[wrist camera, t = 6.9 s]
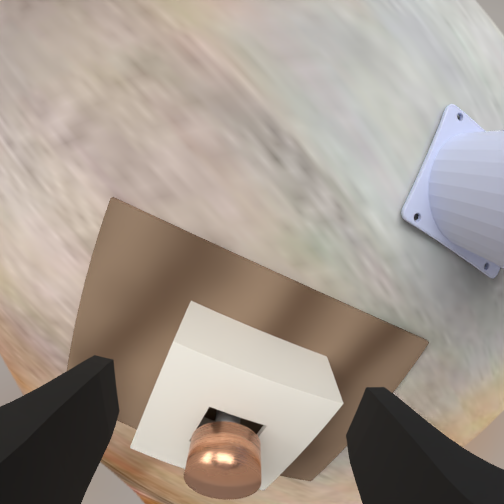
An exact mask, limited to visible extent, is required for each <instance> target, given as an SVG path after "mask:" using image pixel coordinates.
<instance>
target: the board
mask: <svg viewBox="0 0 504 504" xmlns="http://www.w3.org/2000/svg"><path fill="white" fill-rule="evenodd" d="M191 301H193V302H195V303H197V304H200V305H202V306H204V307H206V308H209V309H211V310H213V311H215V312H218V313H220V314H222V315H225V316H227V317H229V318H232V319H234V320H236V321H239V322H241V323H243V324H246V325H248V326H251V327H253V328H255V329H258V330H260V331H263V332H265V333H268V334H270V335H272V336H275V337H277V338H280V339H282V340H285V341H288V342H290V343H293V344H295V345H298V346H300V347H303V348H306V349H308V350H311V351H313V352H316V353H319V354H321V355H324V356H327V358H328V361H329V364H330V367H331V369H332V372H333V375H334V378H335V381H336V383H337V386H338V389H339V392H340V395H341V398H342V401H343V403H344V404H343V405H342V406H341V407H340V409H339V410H338V411H337V412H336V414H335V415H334V416H333V417H332V418H331V420H330V421H329V422H328V423H327V424H326V425H325V427H324V428H323V429H322V430H321V431H320V432H319V434H318V435H317V436H316V437H315V438H314V439H313V440H312V442H311V443H310V444H309V445H308V446H307V447H306V448H305V449H304V450H303V451H302V453H301V454H300V455H299V456H298V457H297V458H296V459H295V460H294V461H293V462H292V463H291V464H290V465H289V466H288V467H287V468H286V469H285V470H284V471H283V472H282V473H281V474H280V476H285V477H290V478H295V479H301V480H306V481H312V480H313V479H314V478H315V477H316V476H317V475H318V474H319V473H320V472H321V471H322V470H323V469H324V468H325V467H326V466H327V465H328V464H329V463H330V462H331V461H332V460H333V459H334V458H335V457H336V456H337V455H338V454H339V453H340V452H341V451H342V450H343V449H344V448H345V447H346V446H347V439H346V434H347V431H348V429H349V427H350V425H351V422H352V420H353V418H354V415H355V413H356V411H357V408H358V406H359V404H360V401H361V399H362V396H363V394H364V391H365V389H366V387H385V388H386V389H388V390H389V391H390V392H392V393H393V392H394V390H395V389H396V388H397V387H398V385H399V384H400V383H401V381H402V380H403V379H404V377H405V376H406V375H407V373H408V372H409V371H410V369H411V368H412V367H413V365H414V364H415V362H416V361H417V360H418V358H419V357H420V355H421V354H422V352H423V351H424V349H425V348H426V346H427V345H428V343H429V342H428V341H427V340H426V339H424V338H421V337H419V336H417V335H415V334H412V333H410V332H408V331H406V330H403V329H401V328H399V327H397V326H394V325H392V324H390V323H388V322H385V321H383V320H381V319H379V318H376V317H374V316H372V315H370V314H368V313H365V312H363V311H361V310H359V309H356V308H354V307H352V306H350V305H347V304H345V303H343V302H341V301H339V300H336V299H334V298H332V297H330V296H327V295H325V294H323V293H321V292H319V291H316V290H314V289H312V288H310V287H308V286H305V285H303V284H301V283H299V282H297V281H294V280H292V279H290V278H288V277H286V276H283V275H281V274H279V273H277V272H275V271H272V270H270V269H268V268H266V267H264V266H261V265H259V264H257V263H255V262H253V261H250V260H248V259H246V258H244V257H242V256H239V255H237V254H235V253H233V252H231V251H229V250H226V249H224V248H222V247H220V246H218V245H216V244H213V243H211V242H209V241H207V240H205V239H202V238H200V237H198V236H196V235H194V234H192V233H189V232H187V231H185V230H183V229H181V228H179V227H177V226H174V225H172V224H170V223H168V222H166V221H164V220H161V219H159V218H157V217H155V216H153V215H151V214H149V213H146V212H144V211H142V210H140V209H138V208H136V207H133V206H131V205H129V204H127V203H125V202H123V201H121V200H119V199H116V198H114V197H112V198H111V199H110V201H109V204H108V207H107V210H106V213H105V216H104V219H103V222H102V225H101V228H100V231H99V235H98V238H97V241H96V244H95V248H94V251H93V255H92V258H91V262H90V265H89V269H88V273H87V276H86V280H85V284H84V288H83V292H82V296H81V301H80V305H79V309H78V314H77V318H76V323H75V328H74V333H73V338H72V343H71V349H70V354H69V360H68V367H67V371H68V370H70V369H72V368H73V367H75V366H76V365H78V364H80V363H81V362H83V361H85V360H87V359H88V358H90V357H92V356H94V355H96V356H100V357H105V358H109V359H113V360H114V370H115V379H116V388H117V396H118V403H119V410H120V412H119V415H118V418H117V420H118V421H120V422H122V423H124V424H126V425H129V426H131V427H133V428H135V429H137V428H138V426H139V423H140V421H141V418H142V416H143V413H144V411H145V408H146V406H147V403H148V401H149V398H150V396H151V393H152V391H153V389H154V386H155V384H156V381H157V379H158V376H159V374H160V372H161V369H162V367H163V364H164V362H165V360H166V357H167V355H168V352H169V350H170V348H171V345H172V343H173V341H174V338H175V336H176V334H177V331H178V329H179V327H180V324H181V322H182V320H183V317H184V315H185V313H186V311H187V308H188V306H189V304H190V302H191ZM216 412H217V409H214V408H212V407H209V408H208V410H207V412H206V414H205V415H204V417H205V418H208V419H211V420H214V421H215V419H216ZM240 424H241V425H244V426H246V427H248V428H250V429H251V430H252V431H254V432H255V433H256V434H257V433H258V432H259V431H260V429H261V428H262V427H263V425H262V424H259V423H256V422H252V421H249V420H246V419H243V418H240Z"/></svg>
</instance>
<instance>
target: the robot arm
mask: <svg viewBox="0 0 504 504" xmlns="http://www.w3.org/2000/svg"><path fill="white" fill-rule="evenodd" d="M457 114H458V115H459V116H460V120H458V118H457ZM416 213H417V214H418V219H417V220H416V221H415V220H414V215H415V214H416ZM401 215H402V218H403V219H404V220H405V221H407V222H409V223H410V224H412V225H413V226H415V227H417V228H418V229H420V230H421V231H423V232H424V233H426V234H427V235H429V236H431V237H432V238H434V239H435V240H437V241H438V242H440V243H441V244H443V245H444V246H446V247H447V248H449V249H450V250H451V251H453V252H454V253H456V254H457V255H459V256H460V257H462V258H463V259H464V260H466V261H467V262H469V263H470V264H472V265H473V266H474V267H476V268H477V269H478V270H480V271H481V272H483V273H484V274H485V275H487V276H488V277H490V278H492V279H493V278H495V277H496V276H497V274H498V272H499V270H500V268H503V269H504V130H500V131H485V130H484V129H483V128H481V127H480V126H479V125H478V124H477V123H476V122H475V121H474V120H473V119H471V118H470V117H469V116H468V115H467V114H466V113H464V112H463V111H462V110H461V109H460V108H458V107H457V106H456V105H454V104H450V105H448V106H446V108H445V111H444V113H443V116H442V119H441V121H440V124H439V126H438V129H437V131H436V134H435V136H434V139H433V141H432V144H431V146H430V148H429V151H428V153H427V155H426V158H425V160H424V162H423V165H422V167H421V169H420V171H419V174H418V176H417V178H416V180H415V182H414V185H413V187H412V189H411V191H410V193H409V195H408V197H407V200H406V202H405V204H404V206H403V208H402V211H401ZM485 264H486V266H485ZM484 266H485V268H484ZM119 412H120V410H119V403H118V396H117V388H116V379H115V370H114V360H113V359H109V358H105V357H100V356H96V355H94V356H92V357H90V358H88V359H87V360H85V361H83V362H81V363H80V364H78V365H76V366H75V367H73V368H72V369H70V370H68V371H67V372H65V373H63V374H62V375H60V376H58V377H57V378H55V379H53V380H51V381H50V382H48V383H46V384H45V385H43V386H41V387H39V388H37V389H35V390H34V391H32V392H30V393H28V394H26V395H24V396H22V397H20V398H18V399H16V400H14V401H12V402H10V403H8V404H6V405H3V406H1V407H0V504H81V502H82V500H83V497H84V495H85V492H86V490H87V488H88V486H89V484H90V482H91V479H92V477H93V475H94V473H95V471H96V469H97V467H98V465H99V463H100V461H101V459H102V456H103V454H104V452H105V450H106V448H107V446H108V444H109V442H110V439H111V437H112V434H113V431H114V428H115V425H116V421H117V418H118V415H119ZM346 439H347V446H348V453H349V459H350V464H351V467H352V470H353V474H354V477H355V480H356V484H357V487H358V490H359V493H360V496H361V500H362V503H363V504H504V470H503V469H501V468H498V467H496V466H494V465H492V464H490V463H488V462H486V461H484V460H483V459H481V458H479V457H477V456H476V455H474V454H472V453H470V452H469V451H467V450H466V449H464V448H462V447H461V446H460V445H458V444H457V443H455V442H454V441H452V440H451V439H449V438H448V437H447V436H445V435H444V434H443V433H441V432H440V431H439V430H437V429H436V428H435V427H433V426H432V425H431V424H430V423H428V422H427V421H426V420H425V419H423V418H422V417H421V416H420V415H419V414H417V413H416V412H415V411H414V410H413V409H411V408H410V407H409V406H408V405H407V404H405V403H404V402H403V401H402V400H400V399H399V398H398V397H397V396H395V395H394V394H393V393H392V392H390V391H389V390H388V389H386V388H385V387H366V389H365V391H364V394H363V396H362V399H361V401H360V404H359V406H358V408H357V411H356V413H355V415H354V418H353V420H352V422H351V425H350V427H349V429H348V431H347V434H346Z"/></svg>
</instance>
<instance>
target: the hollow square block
mask: <svg viewBox="0 0 504 504" xmlns="http://www.w3.org/2000/svg"><path fill="white" fill-rule="evenodd" d="M343 404H344V403H343V401H342V398H341V395H340V392H339V389H338V386H337V383H336V381H335V378H334V375H333V372H332V369H331V367H330V364H329V361H328V358H327V356H324V355H321V354H319V353H316V352H313V351H311V350H308V349H306V348H303V347H300V346H298V345H295V344H293V343H290V342H288V341H285V340H282V339H280V338H277V337H275V336H272V335H270V334H268V333H265V332H263V331H260V330H258V329H255V328H253V327H251V326H248V325H246V324H243V323H241V322H239V321H236V320H234V319H232V318H229V317H227V316H225V315H222V314H220V313H218V312H215V311H213V310H211V309H209V308H206V307H204V306H202V305H200V304H197V303H195V302H193V301H191V302H190V304H189V306H188V308H187V311H186V313H185V315H184V317H183V320H182V322H181V324H180V327H179V329H178V331H177V334H176V336H175V338H174V341H173V343H172V345H171V348H170V350H169V352H168V355H167V357H166V360H165V362H164V364H163V367H162V369H161V372H160V374H159V376H158V379H157V381H156V384H155V386H154V389H153V391H152V393H151V396H150V398H149V401H148V403H147V406H146V408H145V411H144V413H143V416H142V418H141V421H140V423H139V426H138V428H137V431H136V434H135V436H134V439H133V441H132V444H131V446H130V448H132V449H134V450H136V451H139V452H141V453H143V454H146V455H148V456H151V457H153V458H156V459H159V460H161V461H164V462H167V463H169V464H172V465H175V466H178V467H181V468H183V469H185V467H186V462H187V457H188V452H189V447H190V443H191V438H192V435H193V433H194V431H195V430H196V429H197V428H199V427H200V426H202V425H204V424H207V423H211V422H215V421H214V420H211V419H208V418H205V417H204V415H205V414H206V412H207V410H208V408H209V407H212V408H214V409H217V410H220V411H223V412H225V413H228V414H231V415H234V416H237V417H240V418H243V419H246V420H249V421H252V422H256V423H259V424H262V425H263V427H262V428H261V429H260V431H259V432H258V433H257V436H258V437H259V439H260V443H261V486H260V488H259V490H265V489H266V488H267V487H268V486H269V485H270V484H271V483H272V482H273V481H274V480H275V479H276V478H277V477H278V476H279V475H280V474H281V473H282V472H283V471H284V470H285V469H286V468H287V467H288V466H289V465H290V464H291V463H292V462H293V461H294V460H295V459H296V458H297V457H298V456H299V455H300V454H301V453H302V451H303V450H304V449H305V448H306V447H307V446H308V445H309V444H310V443H311V442H312V440H313V439H314V438H315V437H316V436H317V435H318V434H319V432H320V431H321V430H322V429H323V428H324V427H325V425H326V424H327V423H328V422H329V421H330V420H331V418H332V417H333V416H334V415H335V414H336V412H337V411H338V410H339V409H340V407H341V406H342V405H343Z"/></svg>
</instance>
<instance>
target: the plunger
mask: <svg viewBox="0 0 504 504" xmlns="http://www.w3.org/2000/svg"><path fill="white" fill-rule="evenodd" d="M184 480H185V482H186V484H187V485H188V486H189V487H190V488H191V489H193V490H194V491H196V492H198V493H200V494H202V495H204V496H208V497H211V498H216V499H239V498H244V497H247V496H249V495H252V494H253V493H255V492H256V491H257V490H258V489H259V488H260V486H261V443H260V439H259V437H258V436H257V434H256V433H255V432H254V431H252V430H251V429H250V428H248V427H246V426H244V425H241V424H240V417H237V416H234V415H231V414H228V413H225V412H223V411H220V410H217V412H216V419H215V422H211V423H207V424H204V425H202V426H200V427H199V428H197V429H196V430H195V431H194V433H193V435H192V438H191V443H190V447H189V452H188V457H187V462H186V467H185V472H184Z"/></svg>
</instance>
